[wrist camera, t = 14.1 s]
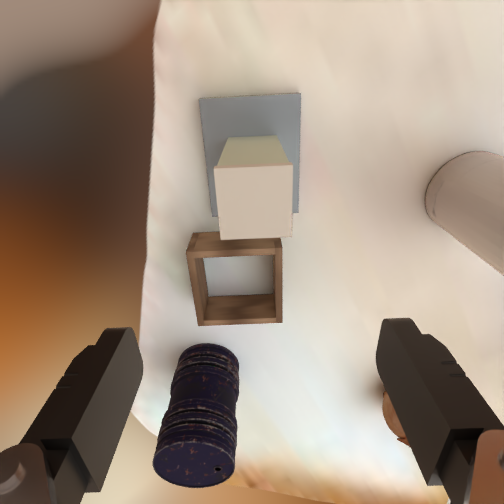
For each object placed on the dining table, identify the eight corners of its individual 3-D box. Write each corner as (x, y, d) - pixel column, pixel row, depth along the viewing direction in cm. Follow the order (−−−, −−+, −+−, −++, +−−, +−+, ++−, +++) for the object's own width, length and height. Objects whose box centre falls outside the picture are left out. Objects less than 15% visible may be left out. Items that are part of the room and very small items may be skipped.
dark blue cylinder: (174, 381, 52) (148, 483, 39) (180, 338, 48) (154, 436, 34) (233, 390, 53) (228, 492, 40) (245, 348, 49) (243, 447, 35)
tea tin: (277, 134, 33) (293, 165, 21) (277, 183, 35) (291, 237, 23) (227, 136, 33) (213, 168, 21) (230, 185, 35) (220, 239, 23)
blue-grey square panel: (299, 93, 32) (300, 93, 31) (296, 209, 38) (298, 212, 37) (200, 98, 32) (198, 98, 31) (213, 212, 38) (212, 216, 37)
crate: (278, 228, 39) (282, 247, 35) (279, 298, 44) (282, 322, 40) (193, 232, 39) (185, 252, 35) (203, 301, 44) (198, 325, 40)
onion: (387, 387, 57) (391, 451, 52) (375, 369, 51) (377, 438, 46) (448, 390, 53) (459, 461, 47) (442, 370, 47) (455, 448, 41)
